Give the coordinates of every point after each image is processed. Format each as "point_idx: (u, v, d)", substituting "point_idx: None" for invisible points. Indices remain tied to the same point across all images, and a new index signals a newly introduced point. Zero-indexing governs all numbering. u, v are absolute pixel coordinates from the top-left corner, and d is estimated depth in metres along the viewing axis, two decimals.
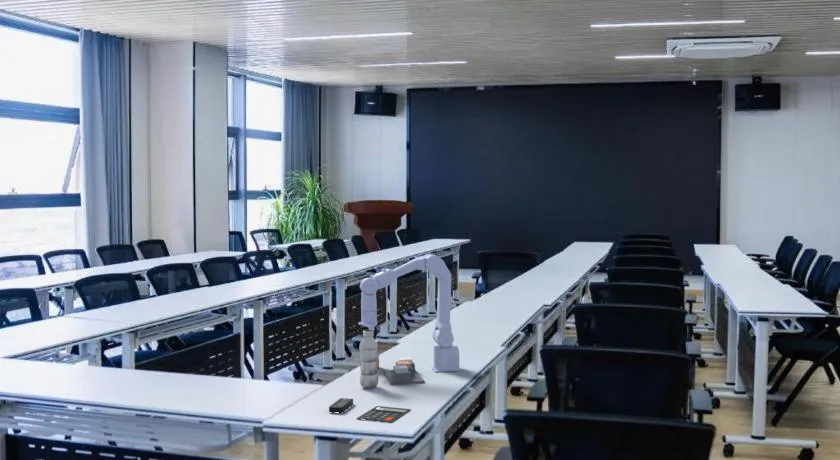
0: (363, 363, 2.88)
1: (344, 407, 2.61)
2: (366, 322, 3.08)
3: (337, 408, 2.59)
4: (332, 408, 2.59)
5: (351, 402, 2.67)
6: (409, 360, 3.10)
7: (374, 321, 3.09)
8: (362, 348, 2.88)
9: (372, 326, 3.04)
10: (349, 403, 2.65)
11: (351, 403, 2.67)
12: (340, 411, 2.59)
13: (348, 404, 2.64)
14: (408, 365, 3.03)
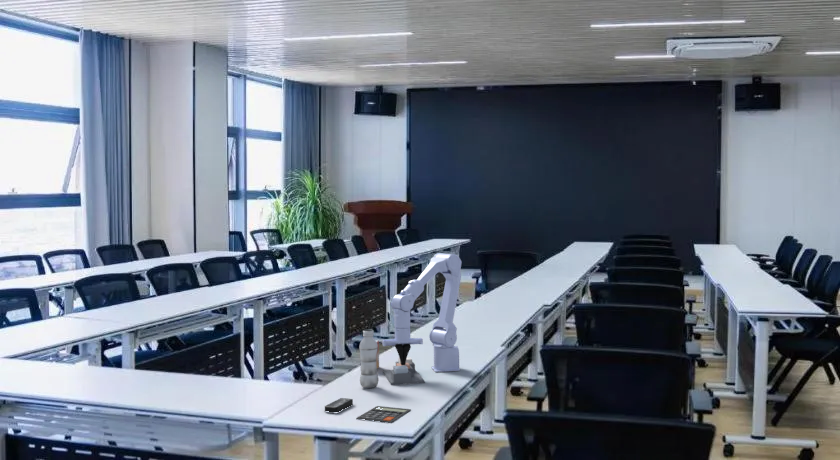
0: (363, 363, 2.88)
1: (340, 407, 2.61)
2: None
3: (332, 408, 2.59)
4: (327, 408, 2.60)
5: (350, 402, 2.67)
6: (409, 360, 3.10)
7: (397, 339, 3.02)
8: (362, 348, 2.88)
9: (383, 341, 3.03)
10: (347, 403, 2.65)
11: (350, 403, 2.67)
12: (335, 411, 2.59)
13: (345, 404, 2.64)
14: (408, 367, 3.03)
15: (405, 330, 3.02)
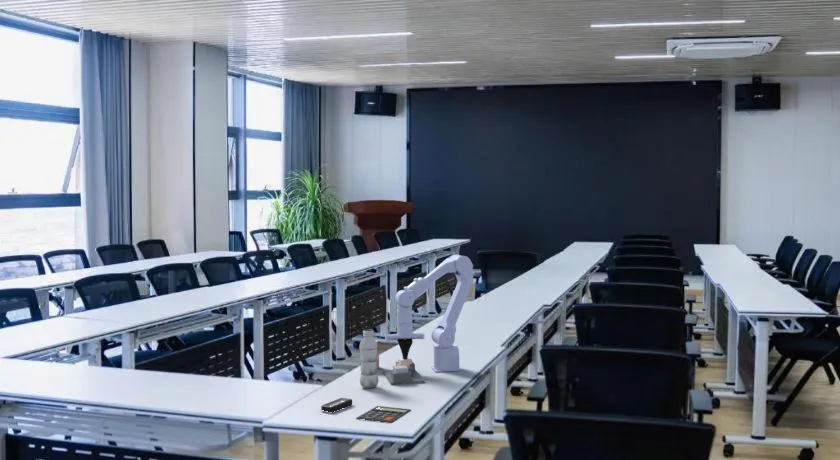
0: (363, 363, 2.88)
1: (336, 407, 2.61)
2: None
3: (328, 407, 2.60)
4: (324, 407, 2.60)
5: (349, 402, 2.67)
6: (409, 360, 3.10)
7: (399, 333, 3.10)
8: (362, 348, 2.88)
9: (385, 336, 3.10)
10: (345, 403, 2.65)
11: (348, 403, 2.67)
12: (330, 411, 2.59)
13: (343, 404, 2.64)
14: (408, 367, 3.03)
15: (407, 325, 3.09)
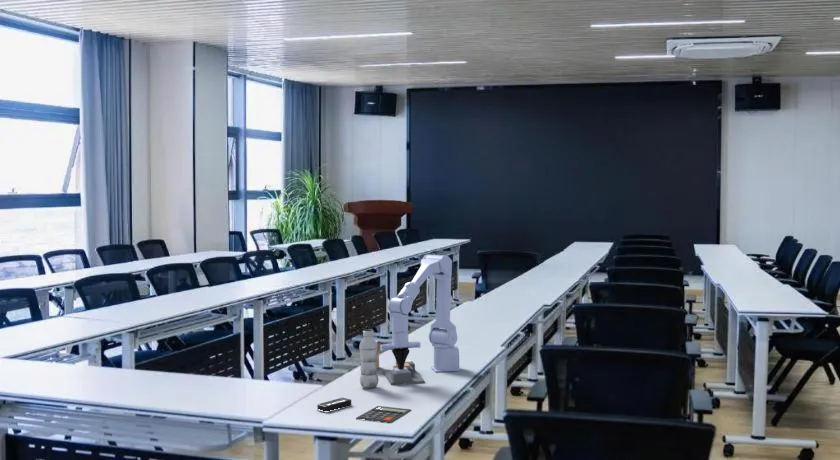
0: (363, 363, 2.88)
1: (331, 407, 2.61)
2: (392, 342, 2.98)
3: (323, 407, 2.61)
4: (319, 406, 2.62)
5: (347, 403, 2.66)
6: (409, 362, 3.11)
7: (396, 343, 2.95)
8: (362, 348, 2.88)
9: (381, 346, 2.95)
10: (342, 403, 2.65)
11: (347, 404, 2.66)
12: (325, 410, 2.60)
13: (340, 404, 2.64)
14: (408, 367, 3.03)
15: (404, 334, 2.95)
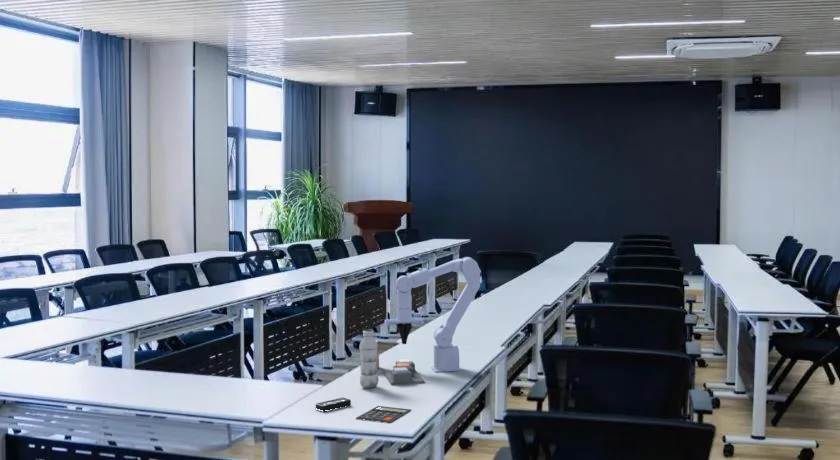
0: (363, 363, 2.88)
1: (329, 406, 2.62)
2: None
3: (320, 406, 2.61)
4: (317, 405, 2.63)
5: (346, 403, 2.66)
6: (409, 362, 3.11)
7: (399, 318, 3.13)
8: (362, 348, 2.88)
9: (385, 321, 3.14)
10: (341, 403, 2.65)
11: (346, 404, 2.66)
12: (322, 409, 2.61)
13: (338, 404, 2.64)
14: (408, 367, 3.03)
15: (407, 310, 3.13)
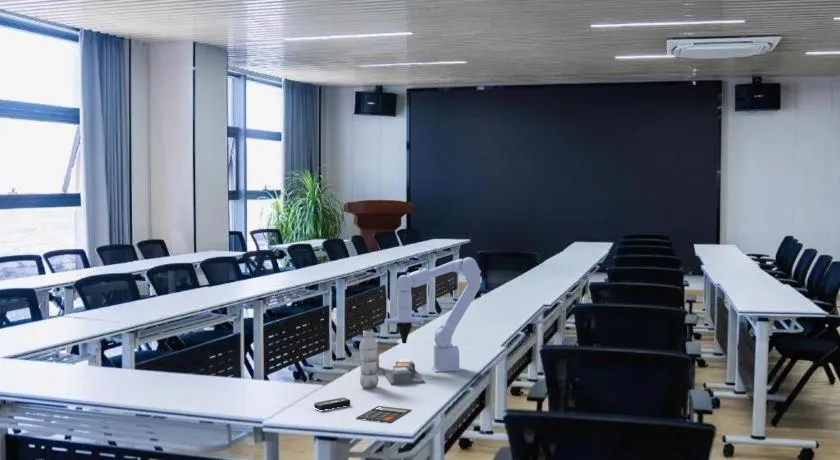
0: (363, 363, 2.88)
1: (326, 406, 2.62)
2: None
3: (318, 405, 2.62)
4: (315, 405, 2.63)
5: (345, 403, 2.66)
6: (409, 362, 3.11)
7: (399, 318, 3.15)
8: (362, 348, 2.88)
9: (385, 320, 3.15)
10: (340, 403, 2.65)
11: (345, 404, 2.66)
12: (319, 409, 2.61)
13: (337, 404, 2.65)
14: (408, 367, 3.03)
15: (407, 309, 3.14)
